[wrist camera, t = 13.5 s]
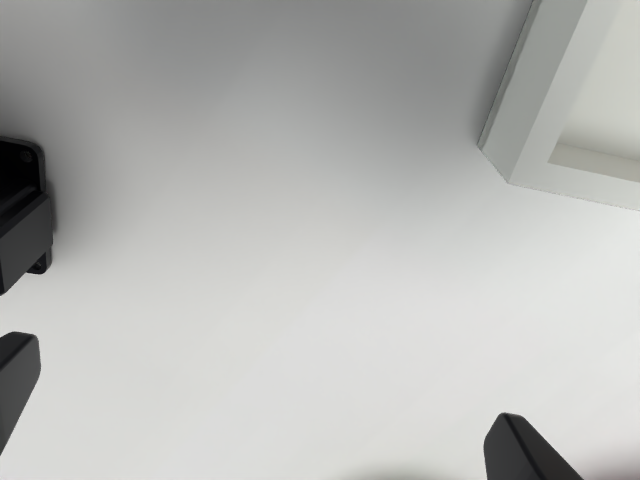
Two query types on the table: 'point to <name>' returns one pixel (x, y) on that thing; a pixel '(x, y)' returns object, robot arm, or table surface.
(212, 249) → the table surface
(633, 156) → the tray
